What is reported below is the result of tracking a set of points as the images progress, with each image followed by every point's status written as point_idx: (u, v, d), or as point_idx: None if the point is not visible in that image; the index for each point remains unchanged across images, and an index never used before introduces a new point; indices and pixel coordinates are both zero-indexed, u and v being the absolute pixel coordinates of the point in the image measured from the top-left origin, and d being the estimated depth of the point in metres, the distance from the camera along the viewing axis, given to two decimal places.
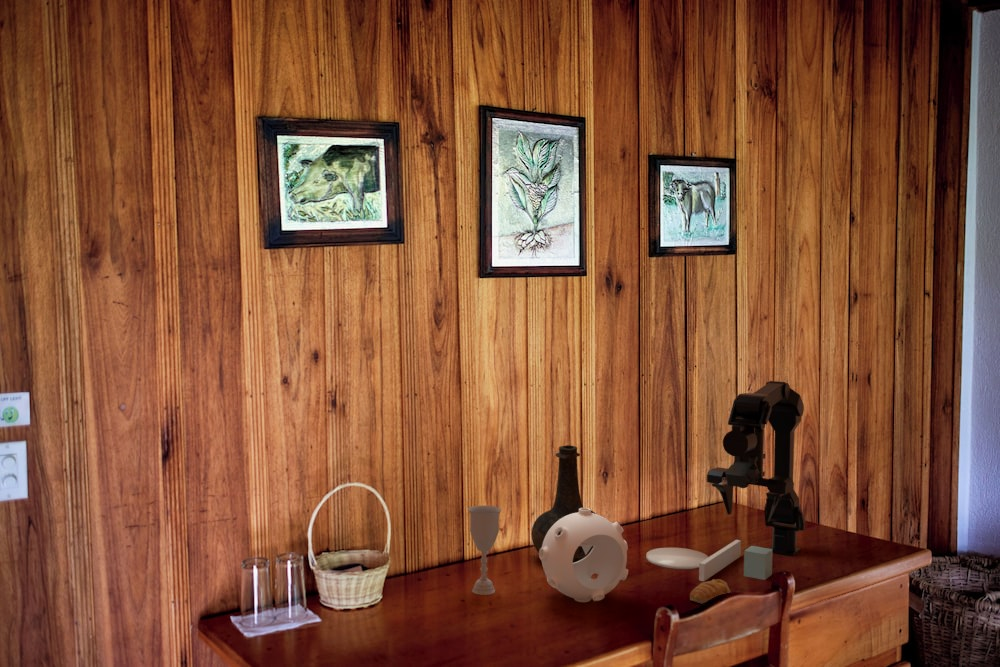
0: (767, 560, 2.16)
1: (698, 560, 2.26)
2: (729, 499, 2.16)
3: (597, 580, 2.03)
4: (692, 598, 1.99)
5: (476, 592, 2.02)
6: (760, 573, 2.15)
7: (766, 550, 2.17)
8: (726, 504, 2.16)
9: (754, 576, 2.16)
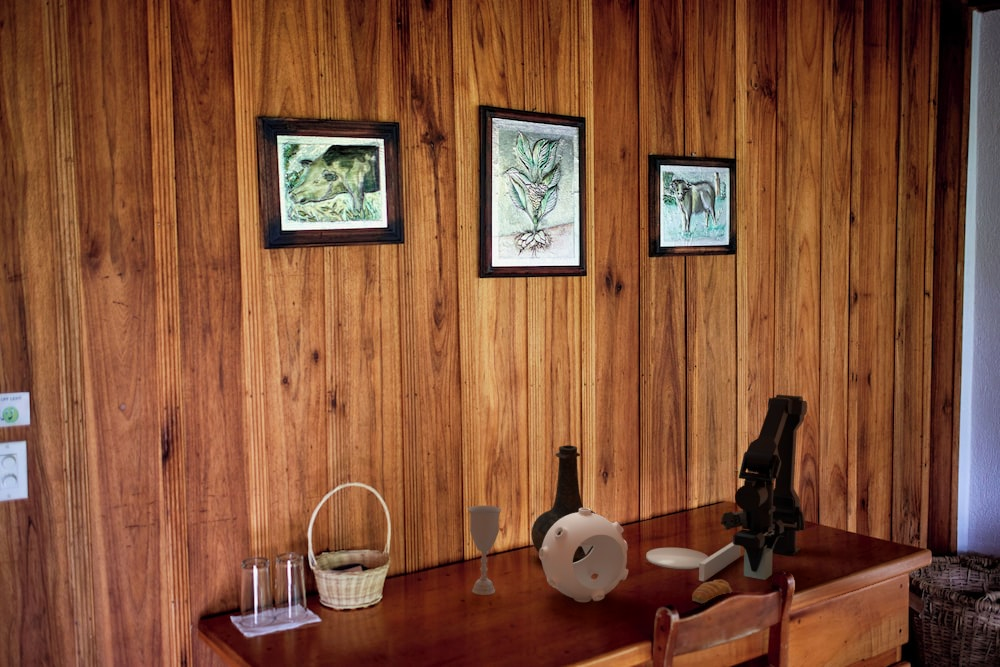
0: (767, 559, 2.16)
1: (698, 560, 2.26)
2: None
3: (597, 580, 2.03)
4: (694, 599, 1.98)
5: (476, 592, 2.02)
6: (761, 573, 2.15)
7: (766, 550, 2.18)
8: None
9: (754, 576, 2.16)
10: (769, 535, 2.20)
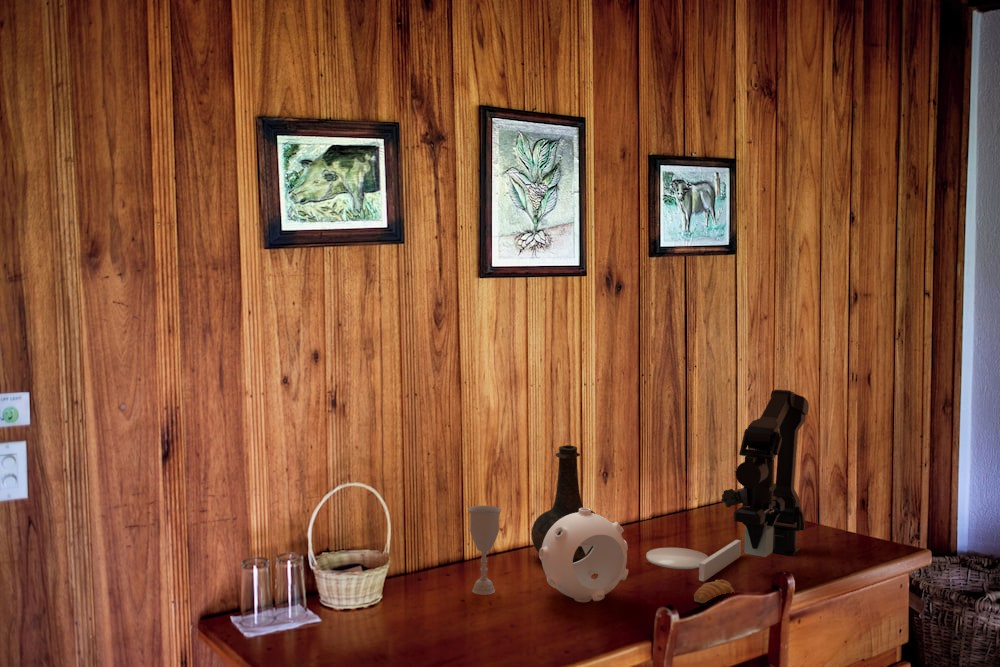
0: (768, 536, 2.15)
1: (698, 560, 2.26)
2: None
3: (597, 580, 2.03)
4: (696, 599, 1.98)
5: (476, 592, 2.02)
6: (761, 550, 2.15)
7: (767, 527, 2.17)
8: None
9: (755, 553, 2.16)
10: (770, 513, 2.20)
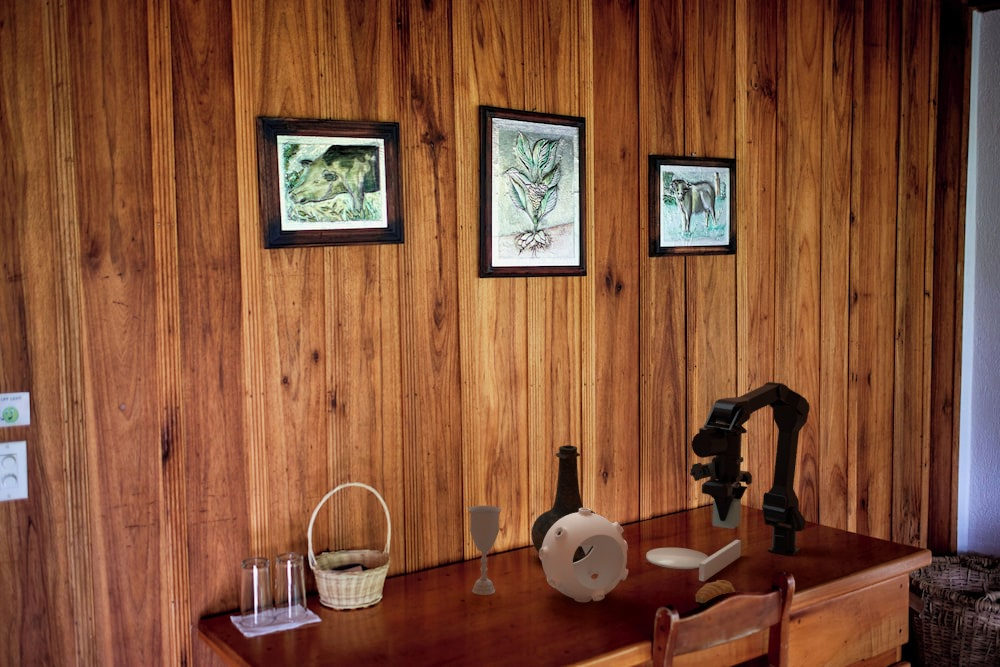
0: (735, 509, 2.19)
1: (698, 560, 2.26)
2: None
3: (597, 580, 2.03)
4: (698, 599, 1.98)
5: (476, 592, 2.02)
6: (729, 522, 2.19)
7: (734, 500, 2.21)
8: None
9: (723, 525, 2.20)
10: (737, 486, 2.24)
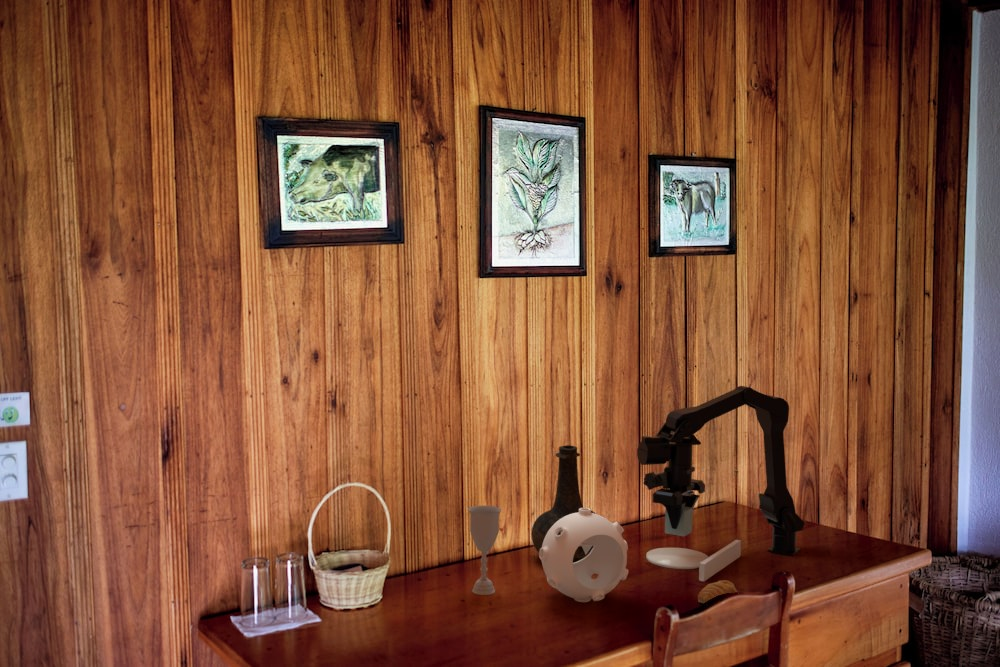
0: (686, 517, 2.26)
1: (698, 560, 2.26)
2: None
3: (597, 580, 2.03)
4: (701, 600, 1.97)
5: (476, 592, 2.02)
6: (680, 530, 2.26)
7: (686, 508, 2.28)
8: None
9: (674, 533, 2.27)
10: (690, 495, 2.31)
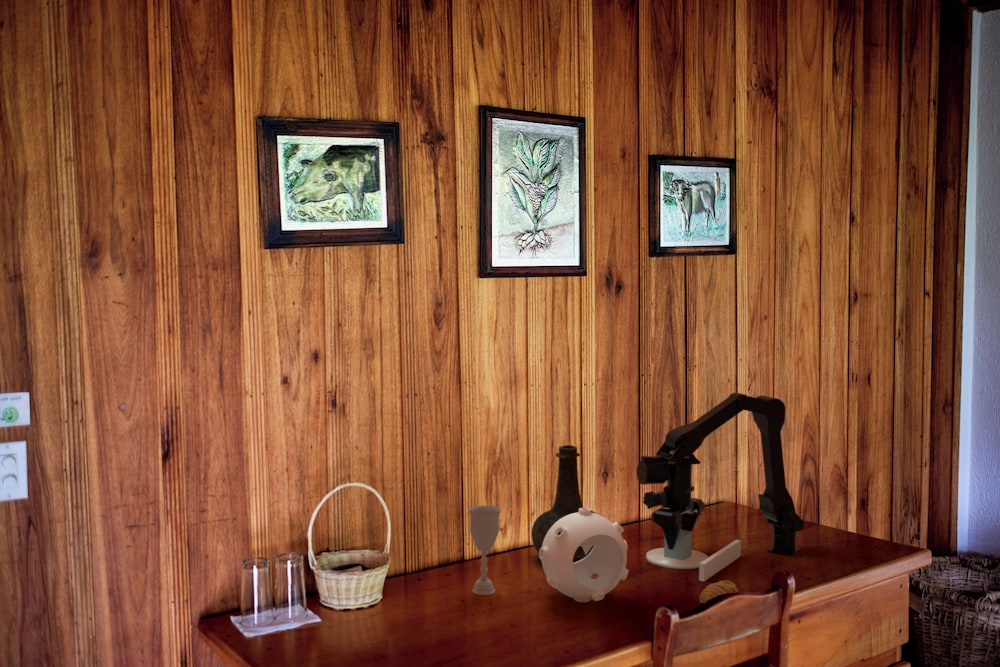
0: (686, 541, 2.27)
1: (698, 560, 2.26)
2: (684, 527, 2.32)
3: (597, 580, 2.03)
4: (702, 600, 1.97)
5: (476, 592, 2.02)
6: (679, 554, 2.26)
7: (685, 532, 2.29)
8: None
9: (673, 557, 2.27)
10: (691, 512, 2.32)
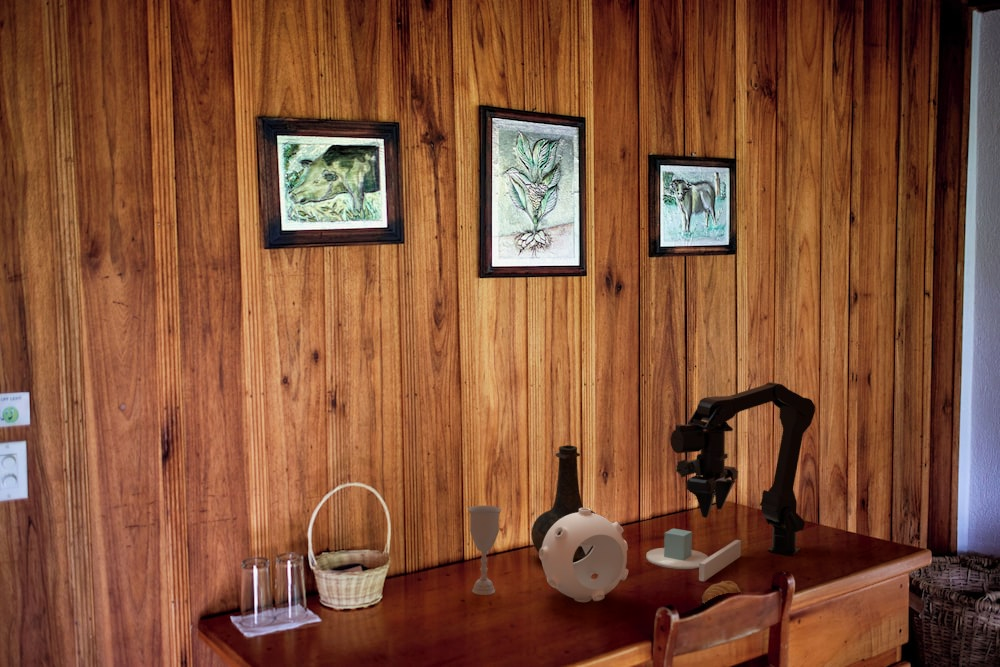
0: (686, 541, 2.27)
1: (698, 560, 2.26)
2: (719, 495, 2.33)
3: (597, 580, 2.03)
4: (705, 601, 1.97)
5: (476, 592, 2.02)
6: (679, 554, 2.26)
7: (685, 532, 2.29)
8: None
9: (673, 557, 2.27)
10: (725, 480, 2.32)
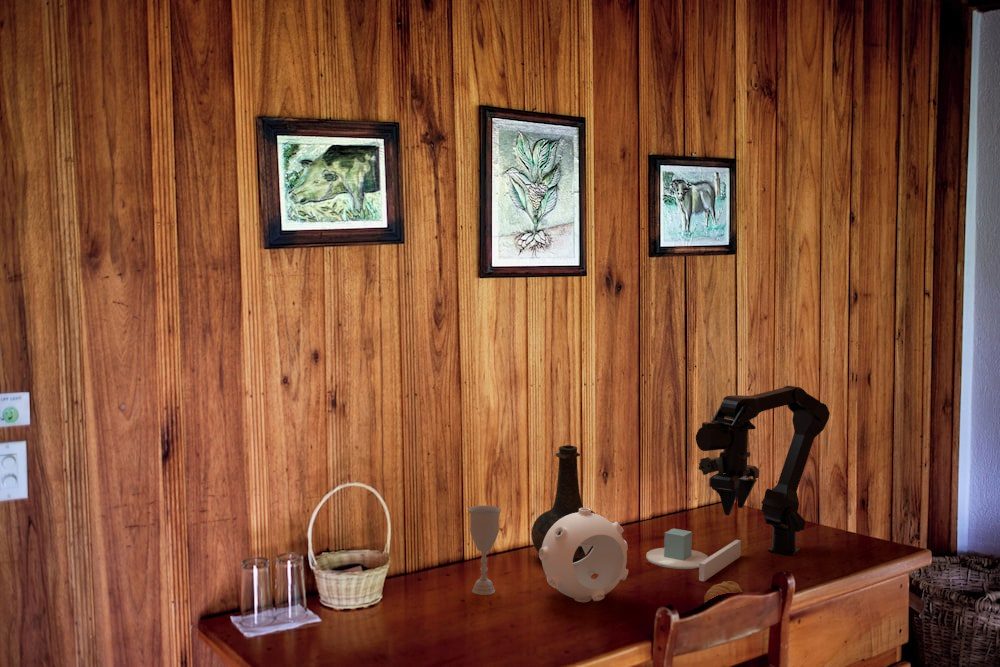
0: (686, 541, 2.27)
1: (698, 560, 2.26)
2: (740, 493, 2.33)
3: (597, 580, 2.03)
4: None
5: (476, 592, 2.02)
6: (679, 554, 2.26)
7: (685, 532, 2.29)
8: None
9: (673, 557, 2.27)
10: (747, 479, 2.33)
